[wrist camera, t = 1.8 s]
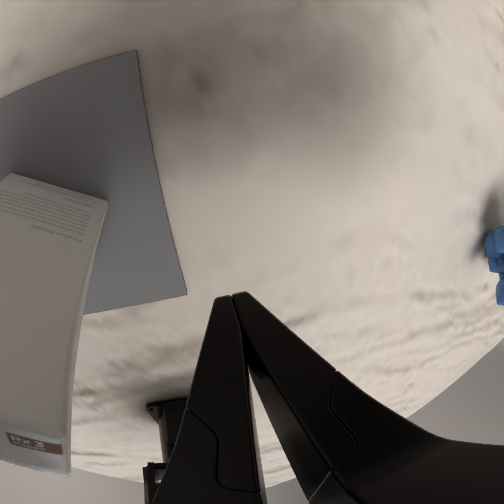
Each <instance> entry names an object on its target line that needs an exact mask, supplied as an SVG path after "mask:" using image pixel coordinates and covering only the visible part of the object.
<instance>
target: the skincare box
mask: <svg viewBox="0 0 504 504" xmlns="http://www.w3.org/2000/svg"><path fill="white" fill-rule="evenodd" d="M107 208H108V202H107V201H106V200H103V199H100V198H96V197H93V196H89V195H86V194H82V193H79V192H76V191H72V190H69V189H65V188H62V187H59V186H55V185H52V184H48V183H45V182H41V181H38V180H34V179H31V178H27V177H24V176H20V175H17V174H13V173H10V174H8V175H7V176H6V177H5V178H4V179H3V180H2V181H1V182H0V460H3V461H6V462H9V463H12V464H15V465H18V466H22V467H25V468H29V469H33V470H36V471H40V472H44V473H49V474H52V475H56V476H60V477H65V478H66V477H70V474H71V413H72V395H73V383H74V373H75V364H76V356H77V348H78V341H79V335H80V329H81V323H82V317H83V311H84V305H85V300H86V295H87V290H88V286H89V281H90V276H91V272H92V268H93V262H94V257H95V253H96V248H97V244H98V240H99V236H100V232H101V228H102V225H103V221H104V218H105V215H106V211H107Z"/></svg>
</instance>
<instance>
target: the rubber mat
mask: <svg viewBox="0 0 504 504" xmlns="http://www.w3.org/2000/svg"><path fill="white" fill-rule="evenodd" d="M10 173H13V174H17V175H20V176H24V177H27V178H31V179H34V180H38V181H41V182H45V183H48V184H52V185H55V186H59V187H62V188H65V189H69V190H72V191H76V192H79V193H82V194H86V195H89V196H93V197H96V198H100V199H103V200H106V201H107V202H108V208H107V211H106V215H105V218H104V221H103V225H102V228H101V232H100V236H99V240H98V244H97V248H96V253H95V257H94V262H93V268H92V272H91V276H90V281H89V286H88V290H87V295H86V300H85V305H84V311H83V315H85V314H90V313H96V312H102V311H107V310H112V309H118V308H123V307H128V306H134V305H139V304H144V303H149V302H154V301H159V300H164V299H169V298H174V297H179V296H184V295H187V289H186V285H185V282H184V278H183V275H182V271H181V267H180V264H179V260H178V256H177V252H176V248H175V245H174V241H173V237H172V233H171V229H170V225H169V221H168V216H167V212H166V208H165V204H164V199H163V195H162V191H161V186H160V181H159V177H158V172H157V167H156V163H155V158H154V153H153V148H152V143H151V137H150V132H149V127H148V121H147V115H146V110H145V104H144V98H143V91H142V85H141V79H140V72H139V65H138V57H137V51H136V50H135V51H131V52H127V53H123V54H119V55H115V56H112V57H108V58H104V59H101V60H98V61H94V62H91V63H88V64H85V65H82V66H79V67H76V68H73V69H70V70H68V71H65V72H62V73H59V74H57V75H54V76H52V77H49V78H47V79H44V80H42V81H39V82H37V83H35V84H32V85H30V86H28V87H26V88H23V89H21V90H19V91H17V92H15V93H13V94H11V95H9V96H7V97H5V98H3V99H1V100H0V182H1V181H2V180H3V179H4V178H5V177H6V176H7V175H8V174H10Z"/></svg>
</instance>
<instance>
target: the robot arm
mask: <svg viewBox="0 0 504 504" xmlns="http://www.w3.org/2000/svg"><path fill="white" fill-rule="evenodd" d="M248 369H249V371H248ZM249 372H250V375H251V378H252V380H253V383H254V385H255V387H256V390H257V392H258V394H259V396H260V399H261V401H262V403H263V406H264V408H265V410H266V412H267V415H268V417H269V419H270V421H271V424H272V426H273V428H274V430H275V433H276V435H277V437H278V439H279V441H280V443H281V446H282V448H283V450H284V452H285V454H286V456H287V458H288V461H289V463H290V465H291V467H292V469H293V471H294V473H295V475H296V477H297V479H298V481H299V484H300V486H301V488H302V489H303V492H304V494H305V496H306V498H307V500H308V501H309V503H310V504H504V445H491V444H481V443H471V442H463V441H456V440H450V439H446V438H442V437H439V436H436V435H434V434H432V433H430V432H428V431H426V430H424V429H422V428H421V427H419V426H417V425H416V424H414V423H412V422H411V421H409V420H407V419H406V418H404V417H402V416H401V415H399V414H397V413H396V412H394V411H393V410H391V409H389V408H388V407H386V406H384V405H383V404H381V403H380V402H378V401H377V400H375V399H374V398H372V397H371V396H369V395H368V394H366V393H365V392H364V391H362V390H361V389H360V388H359V387H357V386H356V385H355V384H353V383H352V382H351V381H350V380H348V379H347V378H346V377H345V376H344V375H343V374H341V373H340V372H339V371H336V369H335V368H334V367H333V366H332V365H331V364H329V363H328V362H327V361H326V360H325V359H324V358H322V357H321V356H320V355H319V354H318V353H317V352H315V351H314V350H313V349H312V348H311V347H310V346H308V345H307V344H306V343H305V342H304V341H303V340H301V339H300V338H299V337H298V336H297V335H296V334H295V333H293V332H292V331H291V330H290V329H289V328H288V327H287V326H285V325H284V324H283V323H282V322H281V321H280V320H279V319H278V318H276V317H275V316H274V315H273V314H272V313H271V312H270V311H269V310H267V309H266V308H265V307H264V306H263V305H262V304H261V303H260V302H258V301H257V300H256V299H255V298H254V297H253V296H252V295H251V294H250V293H248V292H246V291H244V292H240V293H235V294H233V295H232V297H231V296H230V295H226V296H221V297H217V298H215V300H214V303H213V307H212V311H211V314H210V318H209V321H208V325H207V329H206V332H205V336H204V340H203V343H202V347H201V351H200V354H199V358H198V362H197V366H196V369H195V373H194V377H193V381H192V385H191V388H190V392H189V396H188V398H183V399H177V400H171V401H165V402H158V403H151V404H147V405H146V410H147V411H148V412H149V414H150V415H151V416H152V417H153V418H154V420H155V421H156V422H157V423H158V424H159V431H160V440H161V448H162V456H163V463H154V462H148V466H147V467H143V477H144V494H145V504H267V497H266V491H265V484H264V477H263V471H262V464H261V457H260V450H259V443H258V436H257V429H256V421H255V414H254V407H253V399H252V392H251V384H250V377H249ZM159 480H161V482H160V483H159Z"/></svg>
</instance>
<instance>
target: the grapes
mask: <svg viewBox="0 0 504 504" xmlns="http://www.w3.org/2000/svg"><path fill="white" fill-rule="evenodd" d="M484 242H485V252H486V256H488V263H489V269H490V272H494V273H499V277H500V281H499V282H498V284H497V286H496V299H497V304H498V305H502V306H504V225H502V226H500V227H499V228H497V229H496V231H495V232H491V233H490V234H488V235H487V236H486V238H485V241H484Z"/></svg>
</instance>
